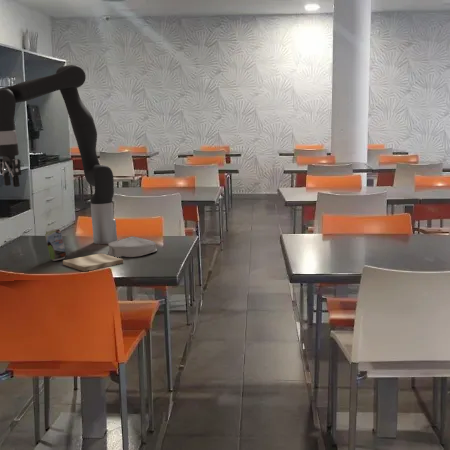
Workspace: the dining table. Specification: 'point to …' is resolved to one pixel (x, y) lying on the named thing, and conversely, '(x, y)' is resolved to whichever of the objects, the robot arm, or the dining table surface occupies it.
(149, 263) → the dining table surface
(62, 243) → the beverage can
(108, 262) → the coaster board
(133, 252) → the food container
